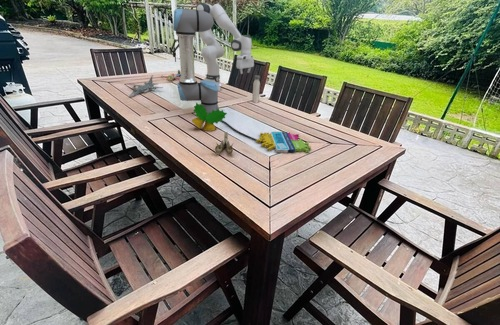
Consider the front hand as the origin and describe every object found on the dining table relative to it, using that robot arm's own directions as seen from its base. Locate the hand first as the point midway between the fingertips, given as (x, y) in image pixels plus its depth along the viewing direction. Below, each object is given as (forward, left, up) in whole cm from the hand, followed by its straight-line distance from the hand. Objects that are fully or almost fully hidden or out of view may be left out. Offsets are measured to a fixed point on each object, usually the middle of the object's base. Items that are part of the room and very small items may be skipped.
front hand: (184, 61), depth 211 cm
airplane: (+16, +35, -28) cm, 47 cm away
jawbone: (-108, -13, -28) cm, 112 cm away
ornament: (-76, -10, -28) cm, 81 cm away
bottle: (-20, -57, -28) cm, 66 cm away
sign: (-102, -48, -28) cm, 117 cm away
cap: (-20, -57, -7) cm, 60 cm away
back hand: (+1, -52, -8) cm, 52 cm away
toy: (+69, +7, -28) cm, 75 cm away
